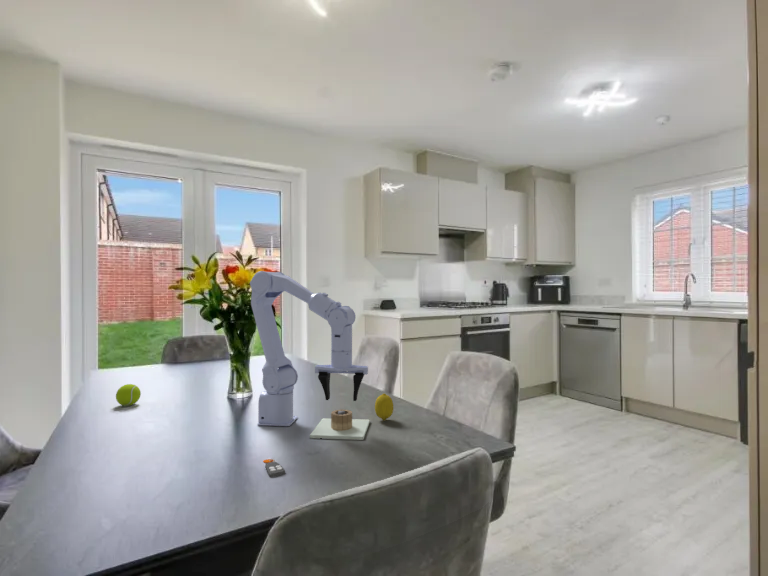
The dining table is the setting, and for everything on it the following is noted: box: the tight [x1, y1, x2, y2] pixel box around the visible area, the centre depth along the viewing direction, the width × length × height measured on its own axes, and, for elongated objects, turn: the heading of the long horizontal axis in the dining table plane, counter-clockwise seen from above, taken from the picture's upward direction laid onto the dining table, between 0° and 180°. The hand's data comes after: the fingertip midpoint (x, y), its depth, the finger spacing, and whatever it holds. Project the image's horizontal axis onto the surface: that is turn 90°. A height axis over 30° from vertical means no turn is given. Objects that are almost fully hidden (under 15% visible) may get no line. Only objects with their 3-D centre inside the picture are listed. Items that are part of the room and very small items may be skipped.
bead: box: [330, 409, 353, 431], centre depth 114 cm, size 6×6×4 cm
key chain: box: [262, 458, 286, 478], centre depth 92 cm, size 13×4×2 cm, turn 30°
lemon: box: [374, 393, 394, 421], centre depth 123 cm, size 6×6×8 cm
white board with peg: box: [309, 411, 371, 441], centre depth 115 cm, size 14×14×5 cm
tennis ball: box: [115, 383, 142, 407], centre depth 138 cm, size 7×7×7 cm
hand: (341, 399), depth 115 cm, fingers open, 7 cm apart
